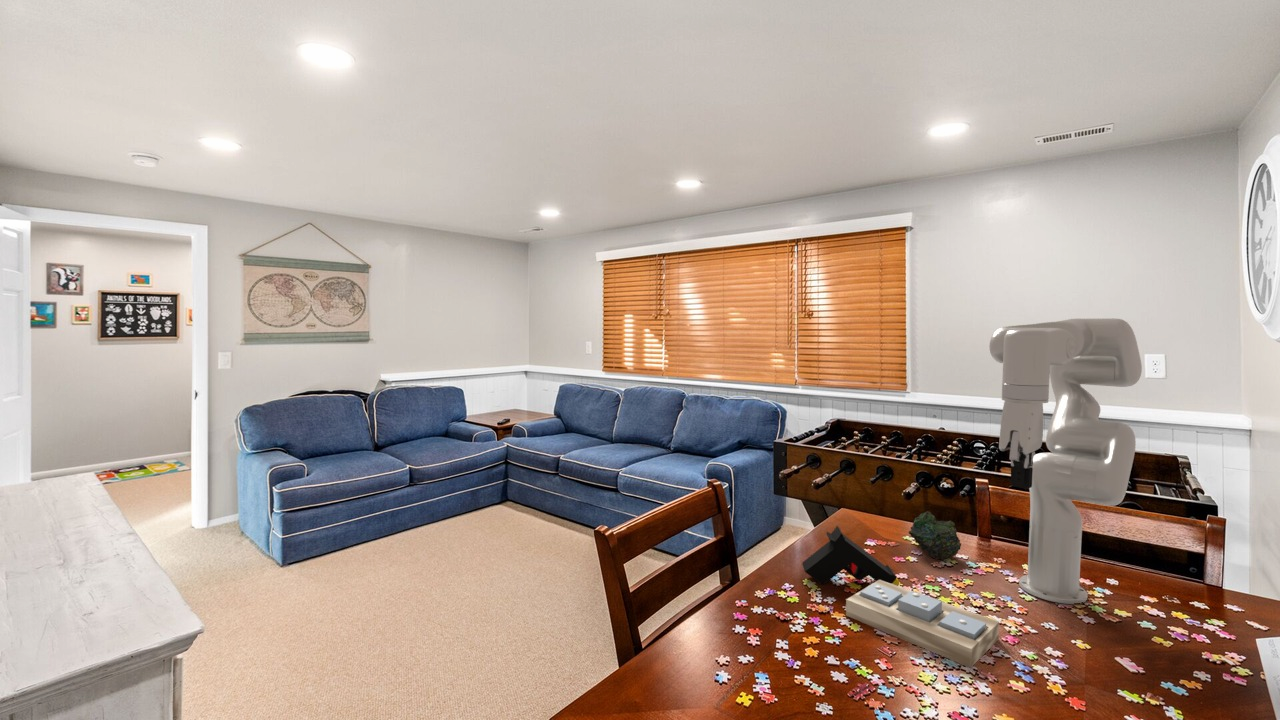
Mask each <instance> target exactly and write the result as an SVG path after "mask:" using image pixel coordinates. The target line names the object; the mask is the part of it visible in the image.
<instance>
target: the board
mask: <svg viewBox="0 0 1280 720" xmlns="http://www.w3.org/2000/svg"><path fill="white" fill-rule="evenodd" d="M874 583H875V584H878V585H881V586H884V587H887V588H889V589H892V590H895V591H898V592H901V593H902V597H903V596H905V595H906V594H908V593H909V592H910V591H911V590H910V589H907V588H905V587H903V586H899V585H898V586H896V585H894V584H890V583H888V582H885V581H882V580H878V581H876V580H875V581H874V582H872V583H871V584H869V585H868V586H866V587H865V588H863V589H861V590H860V591H858V592H856V593H854V594H853V595H851V596H849V597H847V598H846V599H845V601H846V602H845V616H846V617H849V618H851V619H854V620H856V621H859V622H860V623H862V624H865V625H867V626H869V627H872V628H874V629H877V630H880V631H882V632H884V633H887V634H889V635H891V636H894V637H896V638H899V639H901V640H903V641H906V642H907V643H910V644H913V645H915V646H917V647H920V648H922V649H924V648H925V650H927V651H929V652H932V653H934V654H936V655H939V656H942V657H944V658H946V659H947V660H951V661H953V662H955V663H957V664H960V665H963V666H965V667H967V668H970V669H972V667H973V666H974V665H975V664H976V663H977V662H978V661H979V660H980V659H981V658H982V657H983V656H984V655H985V654H986V653H987V652H988V651H989V649H991V648H992V647H993V646H994V645H995V644H996V642H998V641H999V640H1000V621H999V620H996V619H992V618H990V617H987V616H985V615H981V614H979V613H975V612H972V611H970V610H967V609H964V608H961V607H958V606H956V605H952V604H950V603H947V602H944V601H942V613H941V614H940V615H939V616H938V617H936V618H935V619H934V620H933V621H931V622H930V623H929V622H927V621H924V620H922V619H919V618H916V617H914V616H911V615H909V614H906V613H903V612H901V611H898V601H897V602H896V603H894V604H893V605H892V606H890V607H888V606H885V605H883V604H880V603H877V602H875V601H872V600H870V599H867V598H864V597H862V596H861V591H863V590H864V589H866V588H868V587H869V586H871V585H873V584H874ZM952 611H954V612H957V613H959V614H962V615H965V616H968V617H970V618H973V619H976V620H979V621H982V622H984V623H986V631H984V632H983V633H982V634H981V635H980V636H979V637H978V638H977V639H976V640H974V639H971V638H968V637H966V636H963V635H961V634H958V633H955V632H953V631H950V630H948V629H945V628H942V627H940V621H941V620H942V619H943V618H945V617H946V616H947V615H948V614H949V613H951V612H952Z"/></svg>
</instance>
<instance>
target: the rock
mask: <svg viewBox="0 0 1280 720" xmlns="http://www.w3.org/2000/svg"><path fill="white" fill-rule="evenodd" d="M957 533H958V532H957V528H956V527H955V522H953V521H952V520H949V521H948V520H947V521H945V520H937V518H936V517H935V515H934V514H933V513H932V512H931V511H928V510H927V511H925V512H922V513H920V514H919V515H918V516H917V517H915V518H914V520H913V523H912V526H910V530H909V531H908V534H909V535H910V537H911V538H914V542H915V543H916V544H918V546H919V549H921V550H923V551H925V552H926V554H927V555H928V556H930V557H931V558H934V559H937V560H940V561H941V560H942V561H947V560H949V559H951V558H954V556H956V555H957V554H958V552H959V551H960V550H961V545H962V543H961V540H960V538H959V537H958V534H957Z"/></svg>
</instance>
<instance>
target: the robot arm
mask: <svg viewBox="0 0 1280 720" xmlns="http://www.w3.org/2000/svg"><path fill="white" fill-rule="evenodd" d="M988 346H989V352H990V353H989V354H990V355H991V357H992V358H993V360H995V362H997V363H999V364H1002V378H1001V379H1002V380H1001V382H1002V383H1001V400H1002V401H1004V402H1003V407H1002V411H1001V412H1002V413H1001V421H1000V428H999V429H1000V430H999V442H998V449H999V451H1001V452H1005V451H1008V450H1009V460H1010V481H1009V482H1010V486H1011V487H1014V488H1020V489H1025V490H1029V499H1030V505H1029V506H1030V507H1029V512H1030V513H1029V530H1028V552H1027V553H1028V556H1027V557H1028V558H1027V574H1025V575H1022V576H1021V577H1019V579H1018V584H1019V587H1020V588H1021V589H1022V590H1023V591H1025V592H1026V593H1028V594H1029V595H1032V596H1034V597H1036V598H1039V599H1042V600H1045V601H1049V602H1053V603H1058V604H1065V605H1075V604H1074V603H1080V604H1082V603H1081V602H1083V603H1085V602H1087V601H1088V599H1087V598H1088V596H1089V595H1088V592H1087V591H1086V590H1085V589H1084V588H1083V587H1082V586H1080V577H1081V576H1080V575H1081V557H1082V556H1081V554H1082V538H1083V537H1082V536H1083V519H1082V516H1081V513H1080V511H1079V509H1078V508H1077V506H1075V504H1074V503H1073V502H1072V501H1078V502H1084V503H1089V504H1094V505H1100V506H1105V507H1106V506H1108V507H1113V506H1117V505H1119V504H1121V503H1122V502H1123V500H1124V498H1125V496H1126V493H1127V489H1128V485H1129V480H1130V476H1131V471H1132V468H1133V463H1134V458H1135V453H1136V445H1137V444H1136V435H1135V433H1134V430H1133V429H1132V428H1131V426H1129V425H1127V424H1126V423H1122V422H1121V421H1120V422H1119V421H1114V420H1106V419H1105V420H1104V419H1099V418H1100V414H1101V406H1100V403H1099V402H1098V401H1097V399H1095V397H1094V396H1093V395H1092V394H1091V393H1090V392H1089V391H1088V390H1086V389H1085V388H1084V387H1082V386H1081V385H1085V386H1086V385H1087V386H1089V385H1090V386H1102V387H1103V386H1105V387H1117V388H1124V387H1125V388H1126V387H1132V386H1134V385H1136V384H1137V383H1138V382H1139V380H1140V378H1141V376H1142V370H1143V368H1142V367H1143V365H1142V360H1141V355H1140V350H1139V346H1138V342H1137V337H1136V335H1135V332H1134V330H1133V328H1132V327H1131V325H1130V324H1129V323H1128V321H1126V320H1124V319H1121V318H1068V319H1063V320H1058V321H1049V322H1048V321H1047V322H1039V323H1033V324H1031V323H1030V324H1020V325H1019V324H1018V325H1008V326H1003V327H999V328H997V329H996V330H995V331H994V332H993V334H992V335H991V337H990V340H989V345H988ZM1050 384H1051V388H1052V392H1053V395H1054V397H1055V406H1054V410H1053V413H1052V417H1051V420H1050V422H1049V425H1048V428H1047V432H1046V436H1045V438H1046V439H1045V445H1046V448H1047V449H1048V450H1049V451H1050V452H1039V453H1036V454H1035V451H1038V450H1040V448H1041V447H1042V445H1043V437H1044V404H1048V403H1049V397H1050V394H1049V393H1050ZM1086 600H1087V601H1086Z"/></svg>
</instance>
